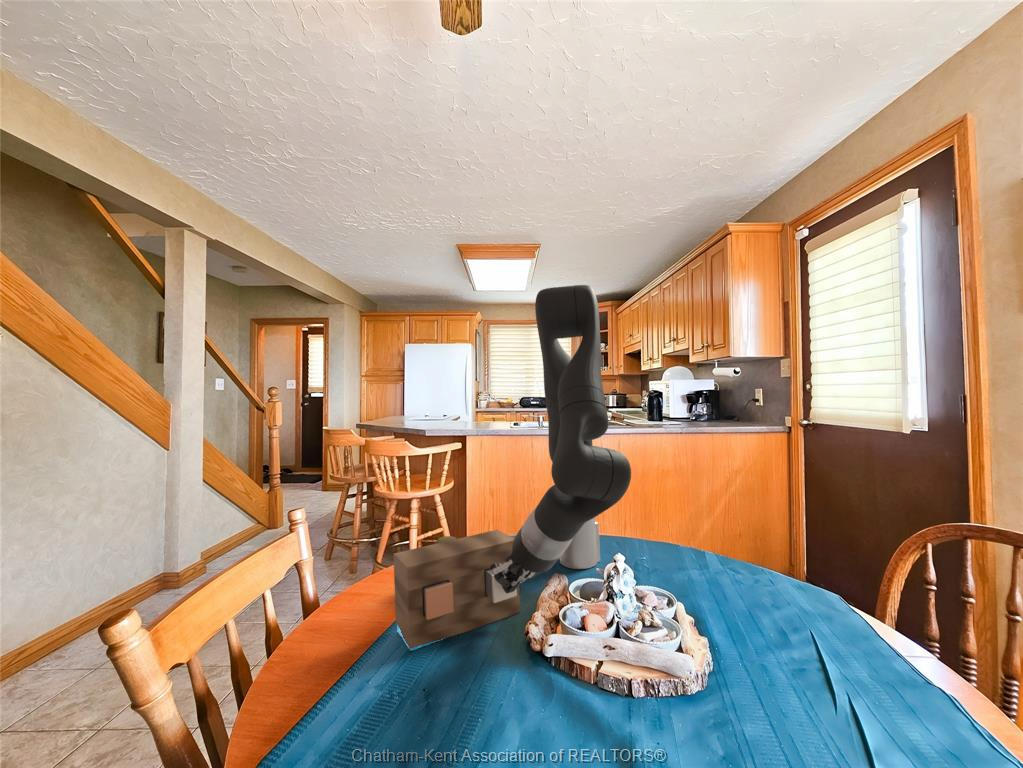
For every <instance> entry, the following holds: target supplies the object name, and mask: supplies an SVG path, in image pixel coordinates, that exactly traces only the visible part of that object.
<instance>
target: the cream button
mask: <svg viewBox="0 0 1023 768" xmlns="http://www.w3.org/2000/svg"><path fill="white" fill-rule="evenodd" d="M484 576H485V594H486V595H487V596H489V597H490V598H491V599H492V600H493V602H494V603H496V602H499V601H502V600H505V599H508V598H511V597H514V596H517V588H516V589H515V591H513V592H510V593H506V592H504V589H503V587H502V585H501V584H499V583H498V582H497V581H496V580H495V578H494V575H493V573H492V570H491V568H489V569H485V570H484Z"/></svg>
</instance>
